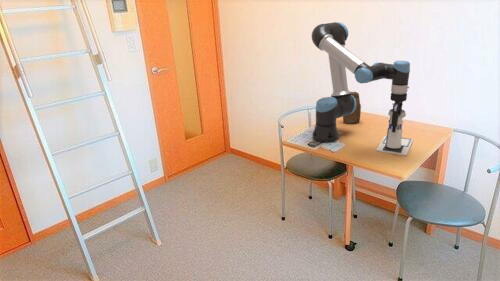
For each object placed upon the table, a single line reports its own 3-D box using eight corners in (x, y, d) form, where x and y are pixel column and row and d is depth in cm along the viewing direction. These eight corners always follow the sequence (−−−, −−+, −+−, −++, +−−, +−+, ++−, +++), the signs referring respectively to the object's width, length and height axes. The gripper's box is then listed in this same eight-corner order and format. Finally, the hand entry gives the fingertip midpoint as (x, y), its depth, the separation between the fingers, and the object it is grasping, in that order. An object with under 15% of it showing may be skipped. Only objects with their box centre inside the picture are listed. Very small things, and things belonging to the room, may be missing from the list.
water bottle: (403, 149, 186) (409, 102, 177) (386, 148, 187) (390, 102, 178) (400, 143, 193) (405, 97, 184) (384, 142, 195) (388, 97, 186)
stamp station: (376, 151, 191) (376, 148, 190) (385, 137, 208) (385, 134, 208) (406, 155, 183) (407, 153, 183) (412, 140, 201) (413, 138, 201)
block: (342, 123, 233) (344, 93, 226) (342, 120, 240) (343, 91, 233) (360, 124, 231) (362, 93, 224) (359, 120, 238) (361, 91, 230)
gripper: (403, 98, 170) (399, 142, 178) (410, 88, 186) (405, 129, 194) (387, 96, 173) (383, 140, 182) (394, 87, 190) (390, 128, 198)
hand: (394, 135), depth 188 cm, fingers closed on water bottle, 7 cm apart
